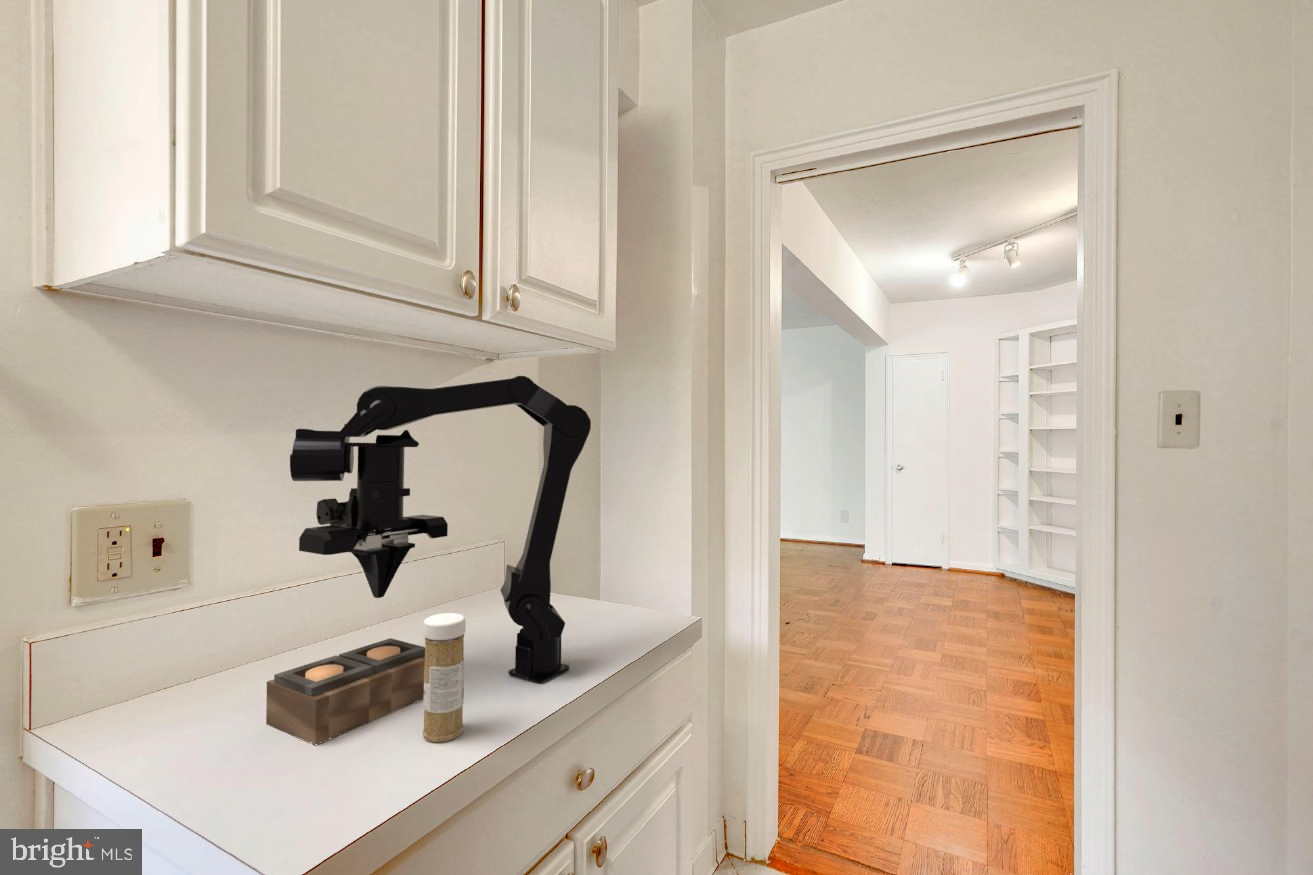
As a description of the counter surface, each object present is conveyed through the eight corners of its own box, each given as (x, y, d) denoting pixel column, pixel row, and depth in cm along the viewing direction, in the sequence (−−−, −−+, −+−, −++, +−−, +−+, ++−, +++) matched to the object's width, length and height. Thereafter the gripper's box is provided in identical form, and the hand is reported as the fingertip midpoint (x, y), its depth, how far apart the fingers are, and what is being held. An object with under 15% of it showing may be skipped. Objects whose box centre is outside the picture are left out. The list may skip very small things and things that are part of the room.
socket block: (385, 678, 86) (386, 636, 86) (433, 693, 81) (434, 648, 81) (266, 723, 72) (266, 673, 72) (315, 745, 67) (316, 691, 67)
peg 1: (330, 710, 75) (330, 662, 75) (349, 717, 73) (350, 668, 73) (297, 723, 72) (298, 672, 72) (317, 731, 70) (318, 679, 70)
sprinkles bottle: (428, 725, 72) (429, 612, 72) (468, 724, 72) (469, 611, 72) (417, 745, 67) (418, 623, 67) (459, 743, 67) (460, 622, 68)
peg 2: (386, 688, 82) (387, 644, 82) (406, 694, 80) (406, 649, 80) (359, 698, 79) (360, 652, 79) (379, 705, 77) (379, 658, 77)
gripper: (400, 475, 93) (398, 577, 93) (274, 481, 77) (272, 604, 77) (451, 478, 88) (449, 586, 88) (328, 485, 71) (325, 617, 71)
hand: (378, 597), depth 81 cm, fingers closed
